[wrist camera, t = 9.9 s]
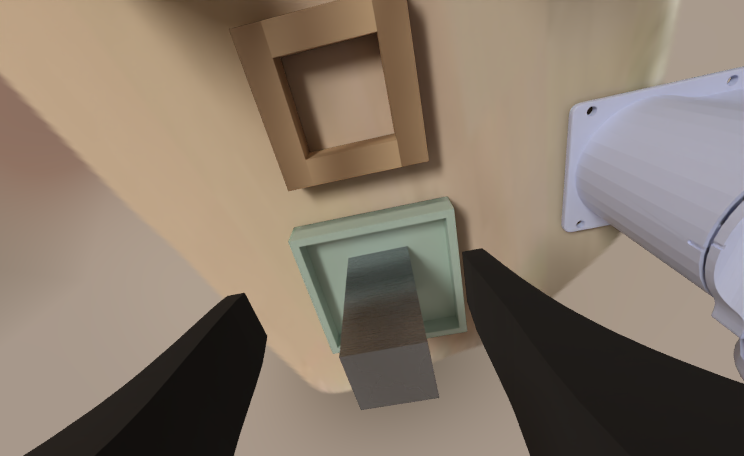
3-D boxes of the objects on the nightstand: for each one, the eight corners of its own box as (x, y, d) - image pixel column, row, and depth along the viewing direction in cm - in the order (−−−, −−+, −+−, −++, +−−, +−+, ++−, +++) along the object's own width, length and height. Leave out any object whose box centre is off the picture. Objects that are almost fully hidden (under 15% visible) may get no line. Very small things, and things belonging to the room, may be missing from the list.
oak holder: (401, -12, 15) (404, -18, 14) (424, 153, 19) (429, 161, 18) (240, 30, 16) (228, 29, 15) (293, 181, 20) (288, 191, 18)
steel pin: (407, 245, 21) (427, 341, 14) (417, 292, 23) (439, 397, 16) (348, 258, 22) (339, 357, 15) (362, 302, 24) (360, 409, 16)
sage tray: (447, 196, 20) (453, 208, 19) (460, 313, 25) (467, 331, 23) (294, 227, 21) (288, 241, 20) (335, 335, 26) (333, 353, 24)
